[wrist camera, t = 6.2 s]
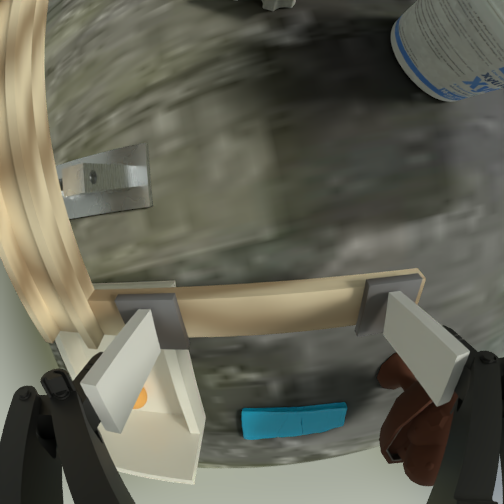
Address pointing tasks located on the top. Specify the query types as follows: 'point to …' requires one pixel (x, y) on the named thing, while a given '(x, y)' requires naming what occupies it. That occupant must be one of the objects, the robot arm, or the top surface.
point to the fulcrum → (106, 182)
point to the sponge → (291, 420)
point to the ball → (141, 399)
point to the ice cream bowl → (413, 424)
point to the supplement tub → (452, 46)
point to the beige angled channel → (130, 300)
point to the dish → (151, 408)
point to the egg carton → (277, 4)
